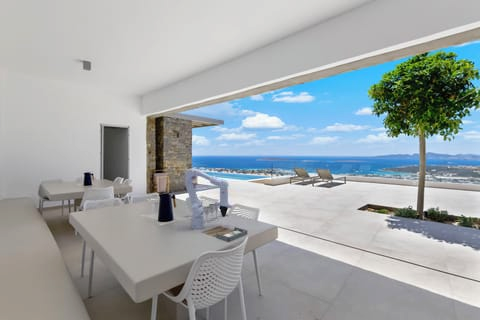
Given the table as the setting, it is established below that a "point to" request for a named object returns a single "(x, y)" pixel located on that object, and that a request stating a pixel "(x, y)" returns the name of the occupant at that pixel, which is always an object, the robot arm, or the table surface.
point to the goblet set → (210, 209)
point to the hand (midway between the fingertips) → (223, 216)
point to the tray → (228, 239)
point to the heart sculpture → (189, 203)
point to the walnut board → (217, 231)
